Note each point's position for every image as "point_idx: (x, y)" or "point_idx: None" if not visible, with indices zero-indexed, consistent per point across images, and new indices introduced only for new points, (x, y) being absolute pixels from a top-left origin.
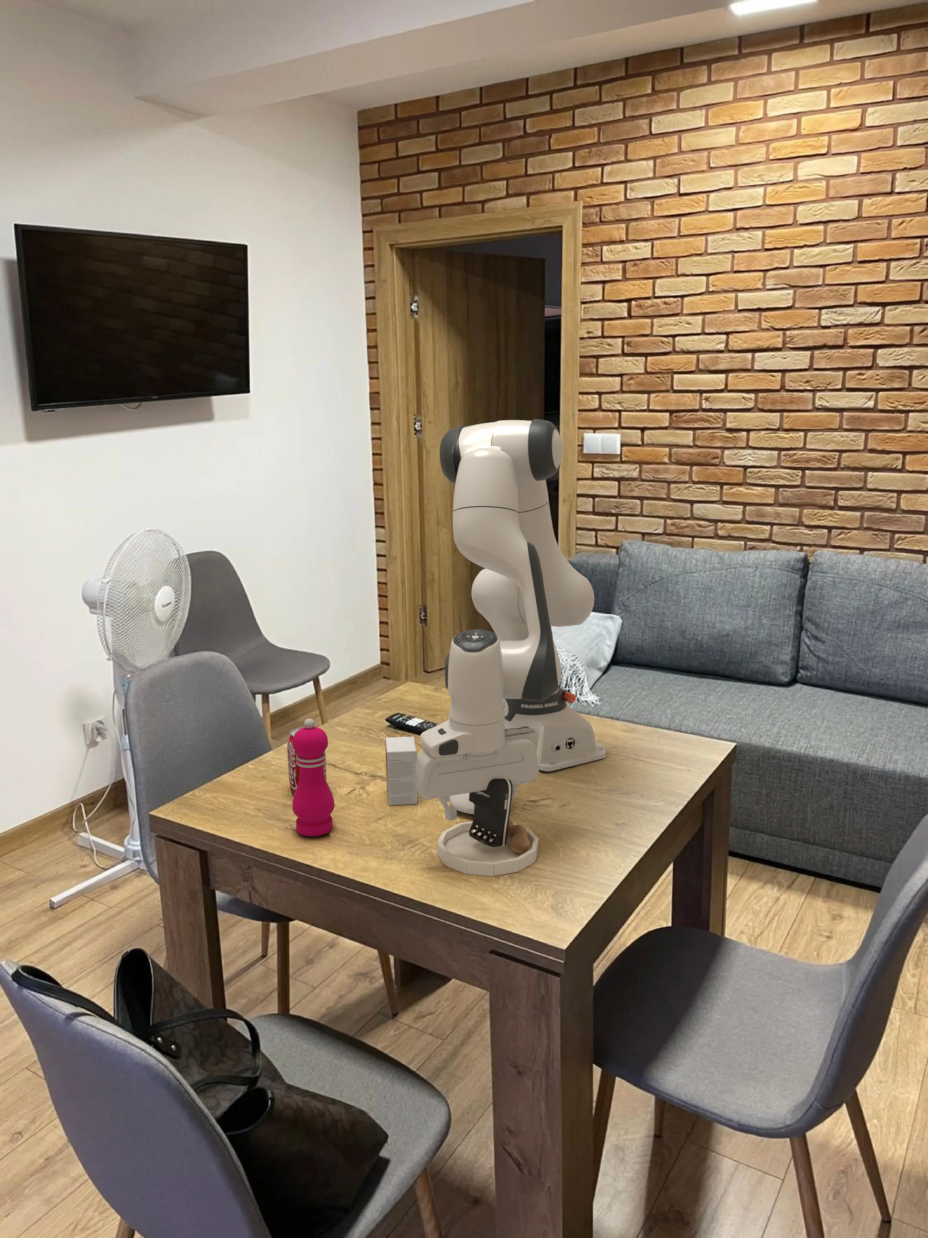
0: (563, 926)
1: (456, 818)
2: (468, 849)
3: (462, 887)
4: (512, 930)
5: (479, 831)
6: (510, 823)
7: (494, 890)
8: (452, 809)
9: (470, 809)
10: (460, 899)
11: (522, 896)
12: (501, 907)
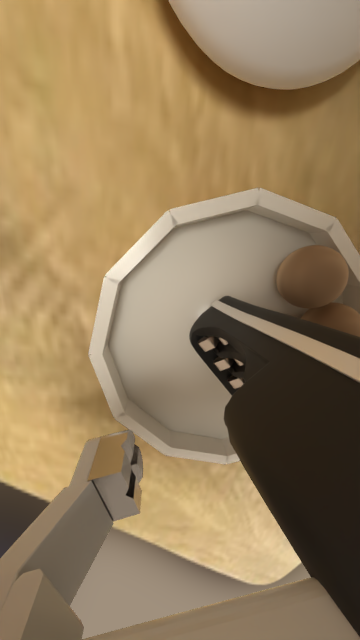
0: (286, 558)
1: (141, 467)
2: (180, 343)
3: (152, 474)
4: (215, 569)
5: (224, 358)
6: (337, 297)
7: (210, 482)
8: (116, 508)
9: (228, 58)
10: (145, 507)
11: (253, 498)
12: (212, 524)
